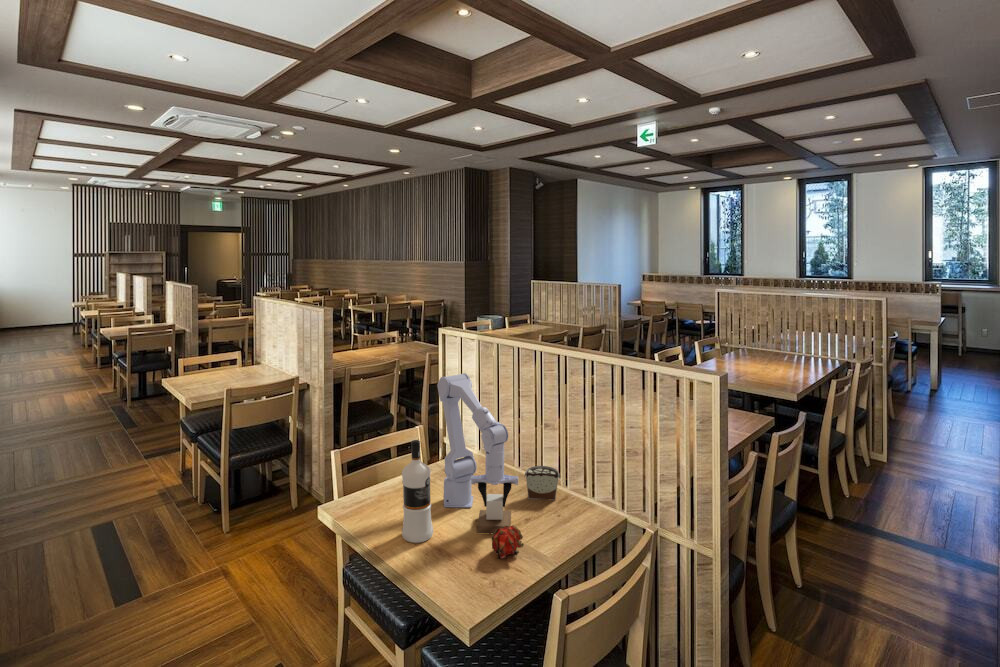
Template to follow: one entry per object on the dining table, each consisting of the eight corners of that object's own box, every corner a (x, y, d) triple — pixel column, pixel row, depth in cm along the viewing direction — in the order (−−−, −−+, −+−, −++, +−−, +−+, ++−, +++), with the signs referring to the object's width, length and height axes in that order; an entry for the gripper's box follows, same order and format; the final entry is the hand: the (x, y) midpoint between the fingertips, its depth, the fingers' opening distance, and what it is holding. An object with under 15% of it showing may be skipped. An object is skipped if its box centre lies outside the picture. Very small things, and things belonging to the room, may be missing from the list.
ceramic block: (486, 519, 166) (486, 501, 165) (487, 511, 171) (487, 494, 170) (502, 519, 166) (502, 501, 165) (502, 512, 171) (503, 494, 170)
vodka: (414, 525, 168) (412, 433, 164) (439, 532, 164) (437, 438, 159) (395, 539, 160) (392, 443, 155) (420, 547, 156) (418, 448, 151)
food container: (559, 492, 191) (560, 465, 190) (559, 500, 185) (560, 473, 184) (524, 490, 192) (525, 464, 191) (524, 498, 186) (524, 471, 185)
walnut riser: (477, 534, 164) (477, 525, 163) (480, 518, 174) (480, 509, 173) (510, 535, 163) (510, 526, 163) (510, 519, 173) (511, 510, 173)
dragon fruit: (518, 547, 159) (501, 575, 148) (496, 528, 160) (478, 553, 150) (533, 532, 155) (516, 558, 144) (510, 511, 156) (492, 537, 146)
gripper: (470, 468, 161) (470, 511, 164) (518, 469, 161) (518, 511, 163) (472, 459, 168) (472, 500, 171) (518, 460, 168) (517, 501, 170)
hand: (494, 505), depth 167 cm, fingers closed on ceramic block, 5 cm apart
